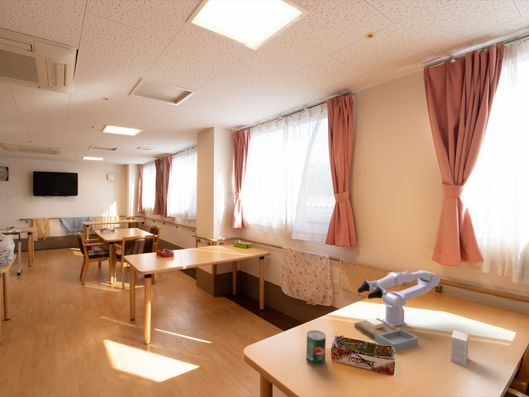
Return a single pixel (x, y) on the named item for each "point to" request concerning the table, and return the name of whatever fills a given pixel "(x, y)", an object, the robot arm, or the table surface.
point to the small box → (459, 348)
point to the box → (397, 339)
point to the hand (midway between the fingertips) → (363, 294)
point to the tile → (374, 323)
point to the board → (371, 331)
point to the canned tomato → (316, 348)
